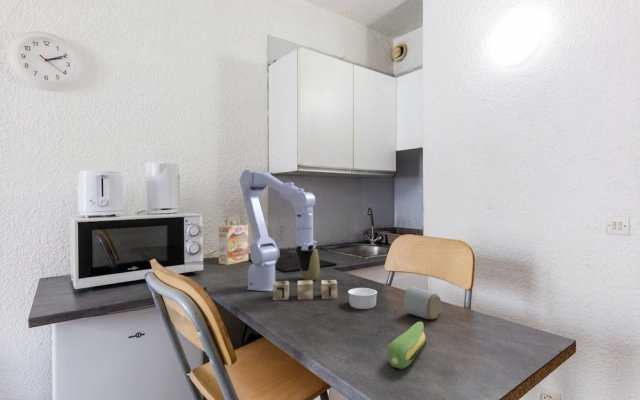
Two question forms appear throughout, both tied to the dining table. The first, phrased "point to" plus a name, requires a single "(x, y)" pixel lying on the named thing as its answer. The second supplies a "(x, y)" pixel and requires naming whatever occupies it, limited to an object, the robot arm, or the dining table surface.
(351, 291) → the ramekin
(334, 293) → the numbered block one
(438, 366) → the dining table surface
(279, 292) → the numbered block seven
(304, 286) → the plain block
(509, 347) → the dining table surface
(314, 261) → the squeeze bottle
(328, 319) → the dining table surface
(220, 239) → the coffeecake box
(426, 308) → the grey and brown cylinder
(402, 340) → the edible corn
